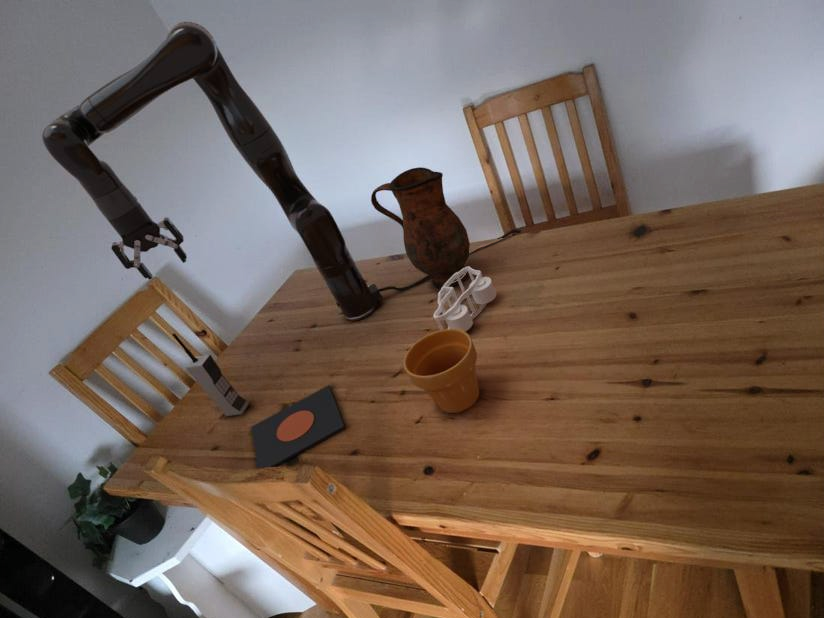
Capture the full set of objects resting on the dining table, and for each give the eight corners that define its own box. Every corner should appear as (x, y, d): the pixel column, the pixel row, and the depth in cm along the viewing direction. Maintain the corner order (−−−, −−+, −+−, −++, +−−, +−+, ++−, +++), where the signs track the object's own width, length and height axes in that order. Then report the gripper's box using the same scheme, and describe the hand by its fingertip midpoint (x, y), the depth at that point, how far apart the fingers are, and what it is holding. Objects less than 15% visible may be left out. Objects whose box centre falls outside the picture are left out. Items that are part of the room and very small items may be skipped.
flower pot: (418, 395, 129) (394, 351, 121) (476, 364, 131) (456, 318, 123) (440, 434, 118) (415, 388, 110) (502, 399, 119) (482, 351, 112)
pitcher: (472, 293, 153) (429, 187, 135) (400, 301, 162) (351, 202, 143) (488, 257, 164) (451, 154, 146) (420, 266, 173) (377, 170, 155)
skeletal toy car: (463, 344, 138) (452, 320, 133) (427, 338, 144) (416, 315, 140) (505, 292, 148) (497, 267, 144) (470, 288, 155) (461, 265, 150)
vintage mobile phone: (242, 415, 145) (178, 337, 129) (226, 416, 146) (161, 340, 131) (249, 404, 147) (188, 326, 132) (233, 405, 149) (171, 329, 134)
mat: (330, 387, 142) (328, 384, 141) (345, 428, 128) (343, 425, 128) (253, 428, 139) (250, 425, 138) (260, 475, 126) (257, 472, 125)
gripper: (88, 229, 128) (139, 289, 138) (151, 199, 130) (196, 261, 140) (92, 218, 134) (140, 277, 143) (152, 190, 136) (195, 250, 145)
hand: (168, 269), depth 141 cm, fingers open, 8 cm apart
